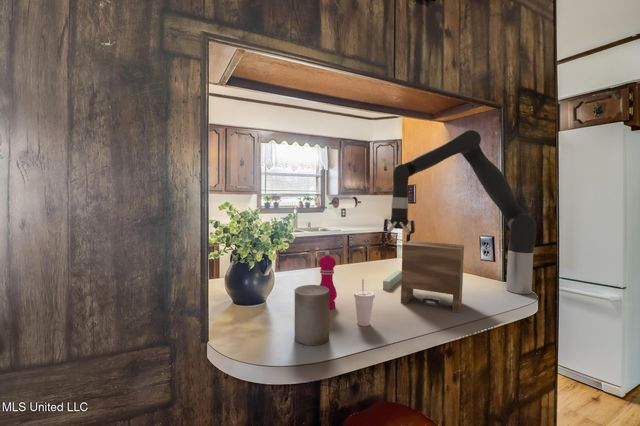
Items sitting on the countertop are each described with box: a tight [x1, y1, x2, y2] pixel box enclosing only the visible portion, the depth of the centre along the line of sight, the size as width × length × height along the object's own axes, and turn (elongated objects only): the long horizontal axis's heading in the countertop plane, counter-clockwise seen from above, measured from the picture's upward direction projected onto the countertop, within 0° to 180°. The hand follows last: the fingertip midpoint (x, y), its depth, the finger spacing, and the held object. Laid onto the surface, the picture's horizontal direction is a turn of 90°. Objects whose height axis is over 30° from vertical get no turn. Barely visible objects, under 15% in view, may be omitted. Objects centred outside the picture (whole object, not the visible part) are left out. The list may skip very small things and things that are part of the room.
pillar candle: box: [293, 284, 330, 346], centre depth 90 cm, size 10×10×15 cm
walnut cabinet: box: [400, 240, 465, 313], centre depth 122 cm, size 12×20×22 cm, turn 62°
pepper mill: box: [318, 250, 338, 310], centre depth 116 cm, size 7×7×20 cm
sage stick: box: [382, 270, 402, 291], centre depth 149 cm, size 23×2×4 cm, turn 152°
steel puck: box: [422, 295, 441, 307], centre depth 123 cm, size 6×6×2 cm
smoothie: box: [353, 278, 376, 327], centre depth 101 cm, size 6×6×14 cm
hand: (398, 241), depth 155 cm, fingers open, 8 cm apart
